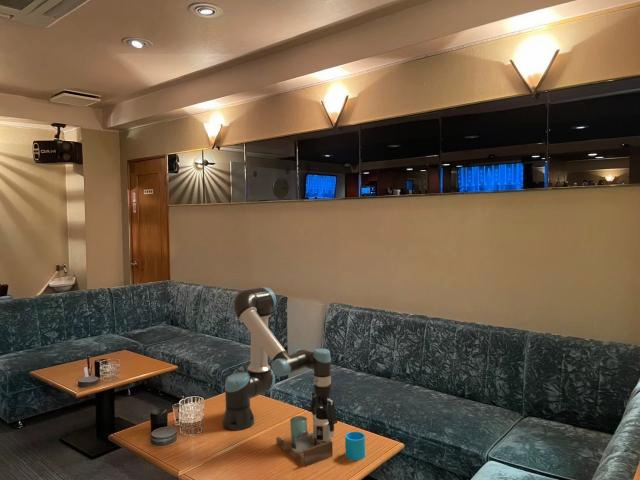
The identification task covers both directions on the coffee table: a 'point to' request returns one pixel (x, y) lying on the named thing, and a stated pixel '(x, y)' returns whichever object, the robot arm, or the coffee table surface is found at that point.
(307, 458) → the frame
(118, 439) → the coffee table surface
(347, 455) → the mug
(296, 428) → the capsule
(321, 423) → the container
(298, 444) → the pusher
